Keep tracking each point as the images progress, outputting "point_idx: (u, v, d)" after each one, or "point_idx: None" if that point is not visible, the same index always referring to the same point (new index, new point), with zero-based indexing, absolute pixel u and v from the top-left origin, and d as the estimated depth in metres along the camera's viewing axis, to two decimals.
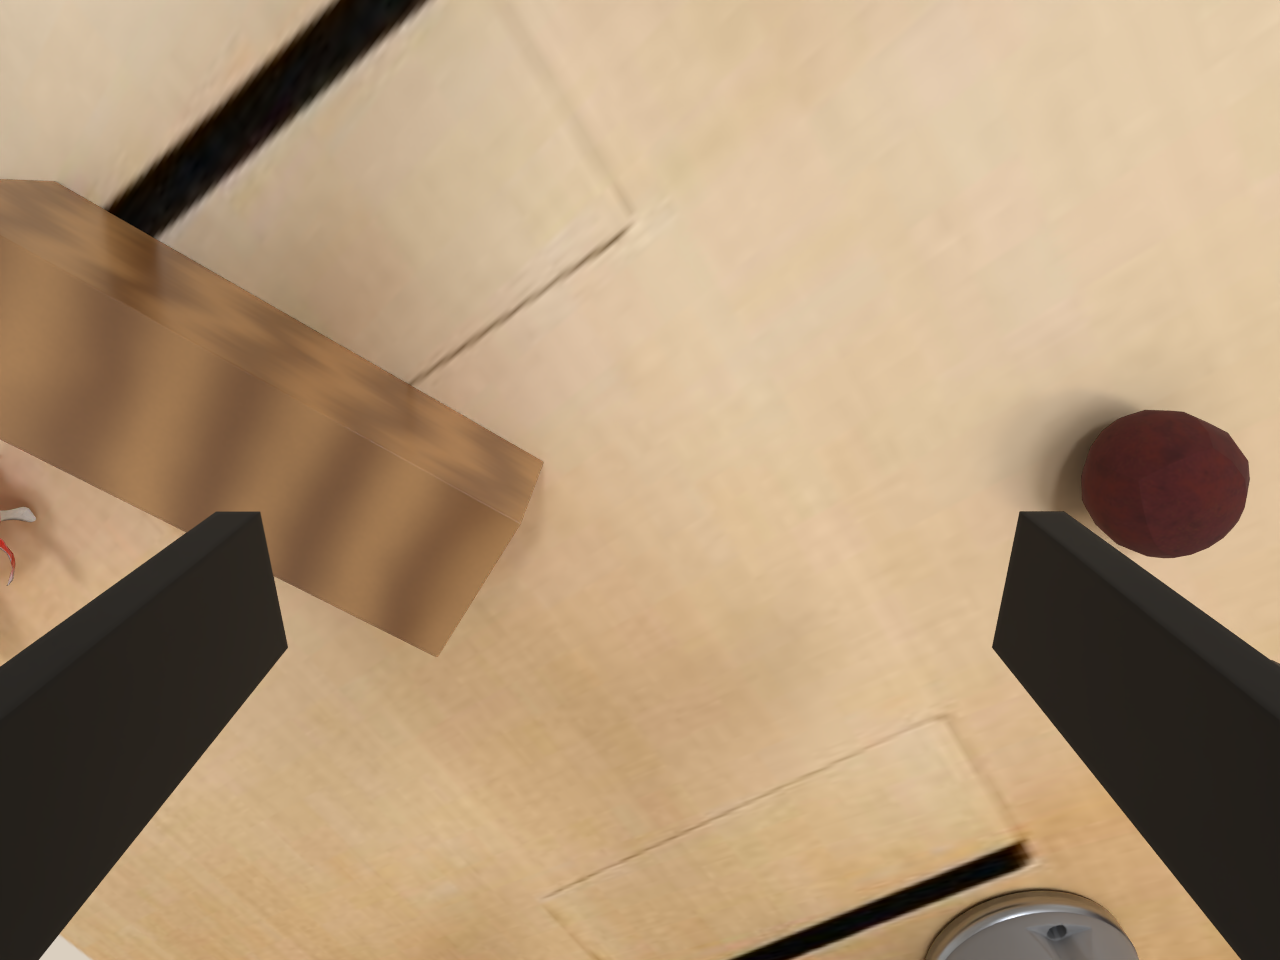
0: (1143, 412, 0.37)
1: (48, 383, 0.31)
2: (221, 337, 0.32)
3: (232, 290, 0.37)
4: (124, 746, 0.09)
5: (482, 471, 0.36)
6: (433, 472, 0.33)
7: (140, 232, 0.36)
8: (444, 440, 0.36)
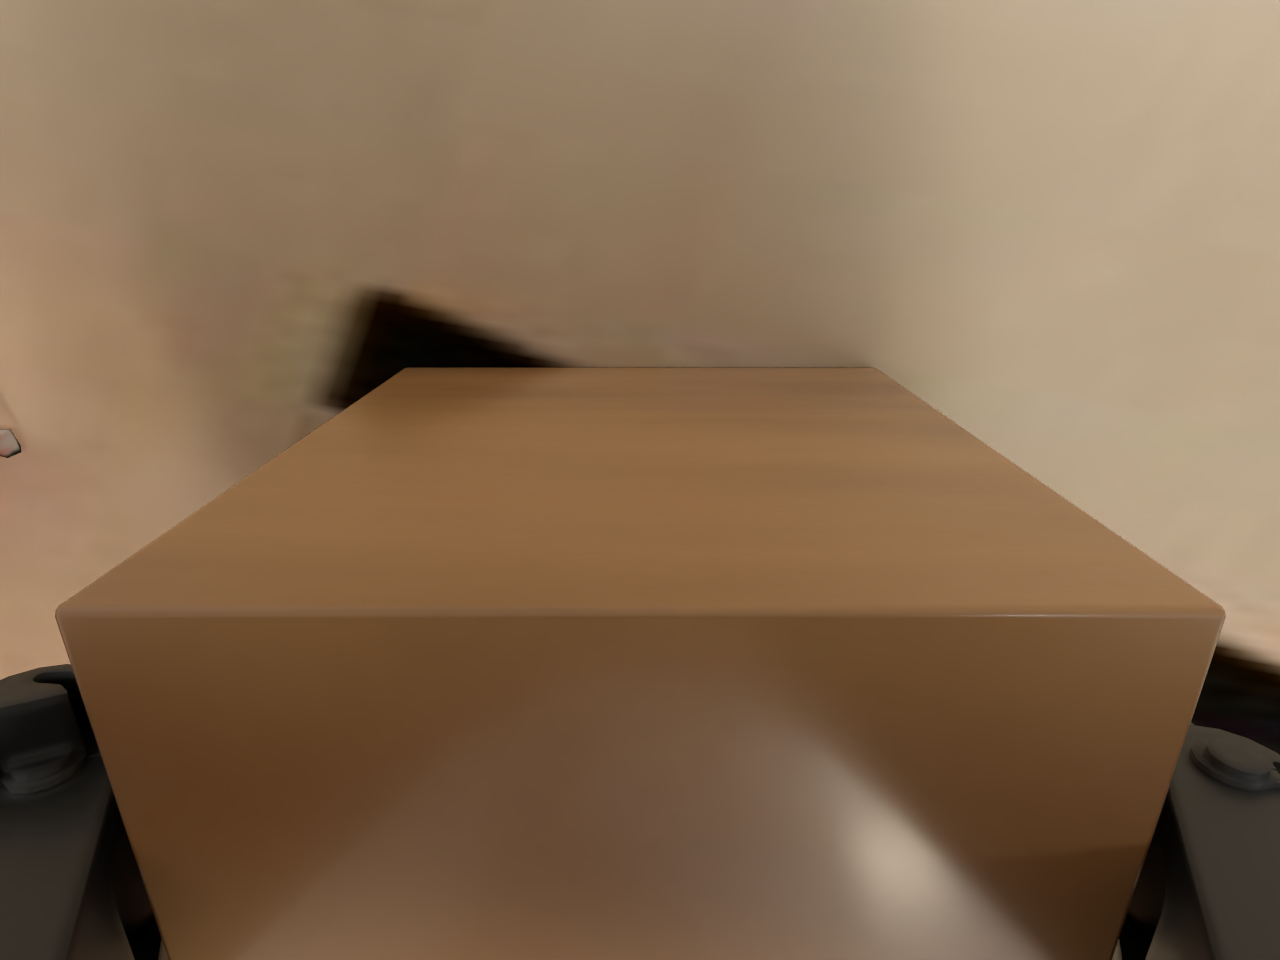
0: None
1: None
2: None
3: None
4: None
5: None
6: None
7: None
8: None
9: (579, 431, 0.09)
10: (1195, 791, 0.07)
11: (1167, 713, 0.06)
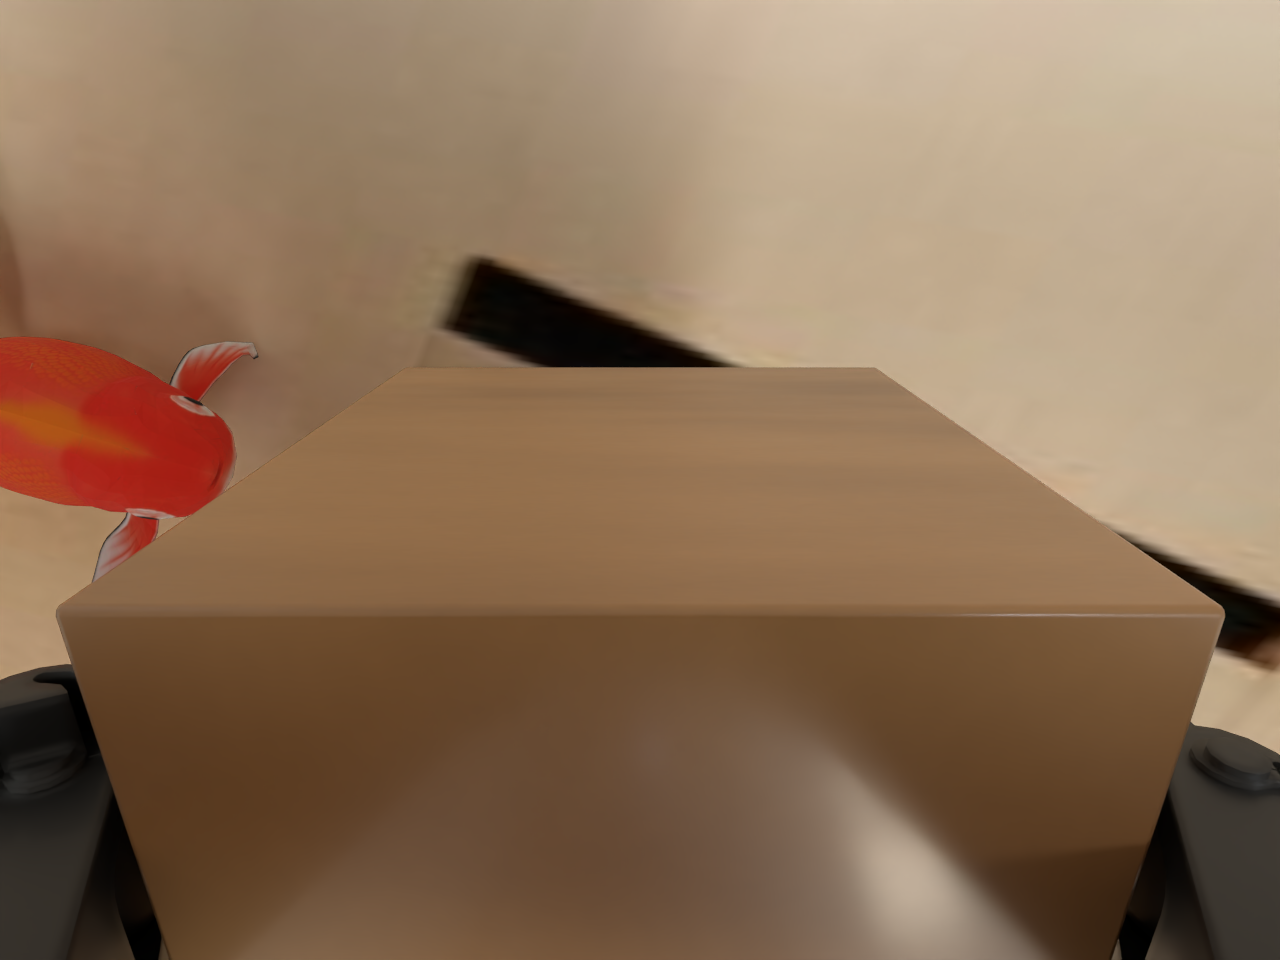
0: None
1: None
2: None
3: None
4: None
5: None
6: None
7: None
8: None
9: (579, 431, 0.09)
10: (1193, 791, 0.07)
11: (1164, 712, 0.06)
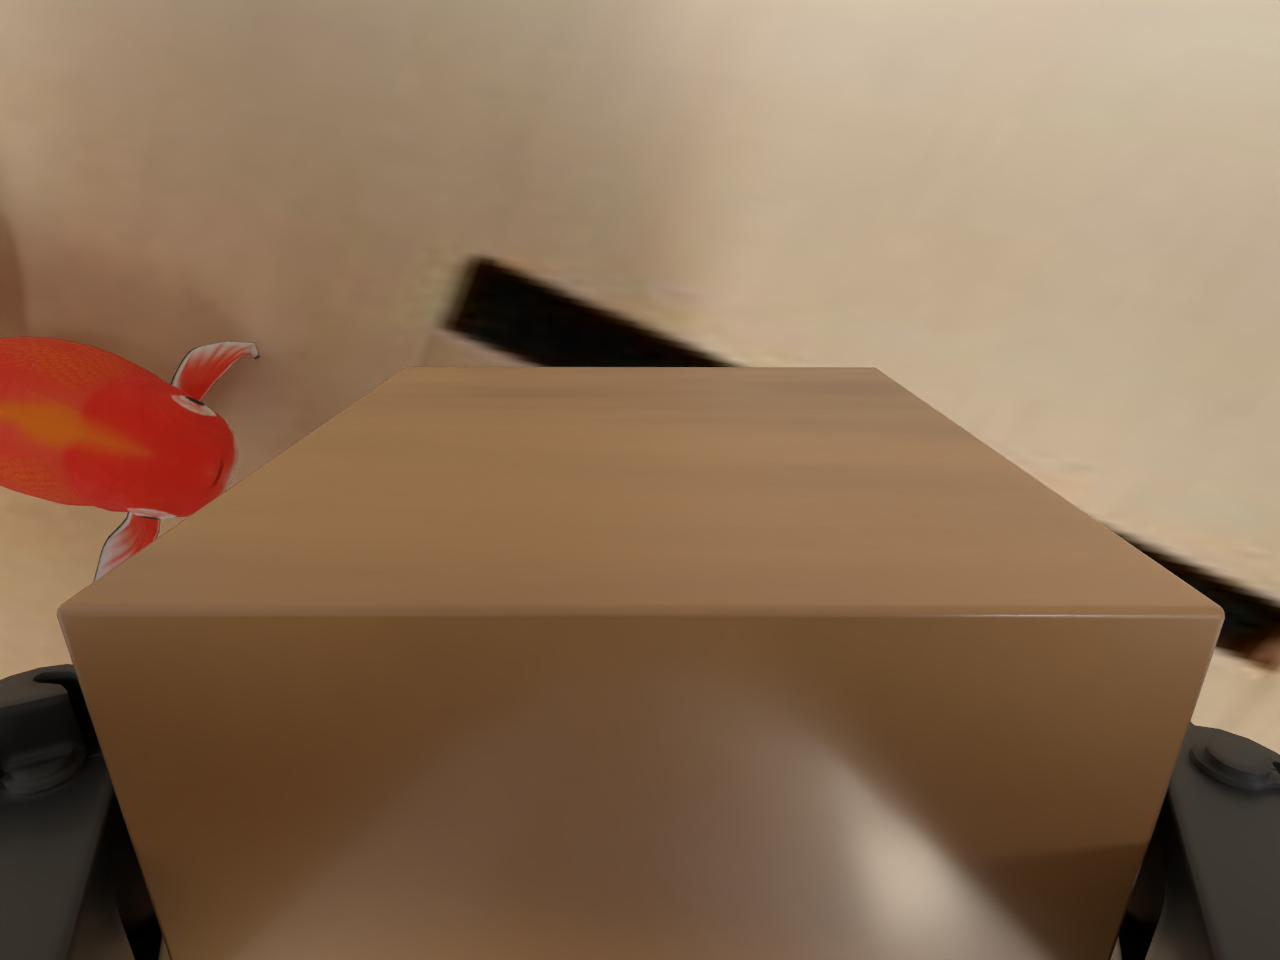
0: None
1: None
2: None
3: None
4: None
5: None
6: None
7: None
8: None
9: (580, 430, 0.09)
10: (1193, 792, 0.07)
11: (1164, 714, 0.06)
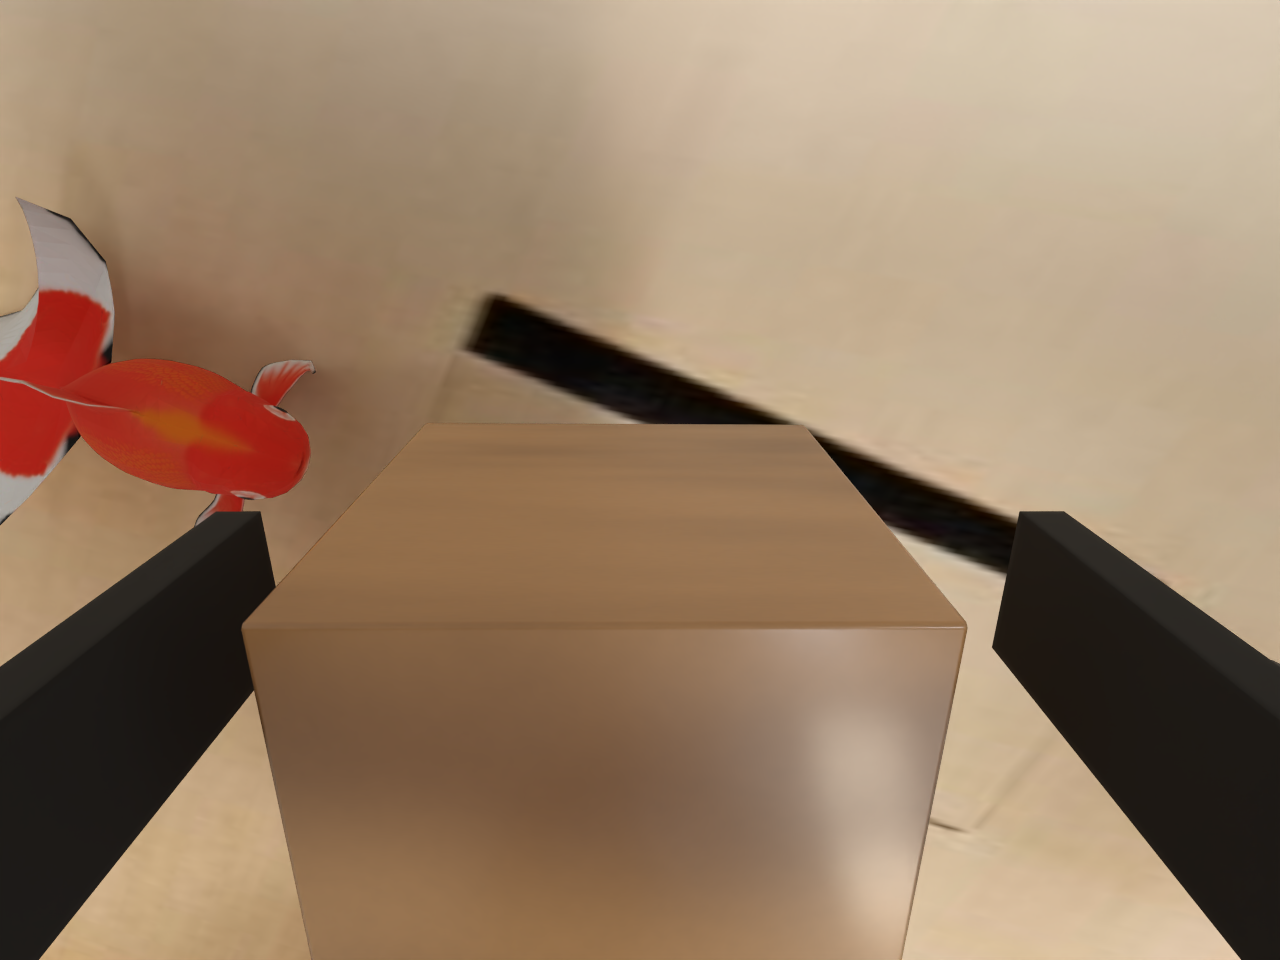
0: None
1: None
2: None
3: None
4: (124, 746, 0.09)
5: None
6: None
7: None
8: None
9: (568, 486, 0.13)
10: None
11: (938, 688, 0.09)
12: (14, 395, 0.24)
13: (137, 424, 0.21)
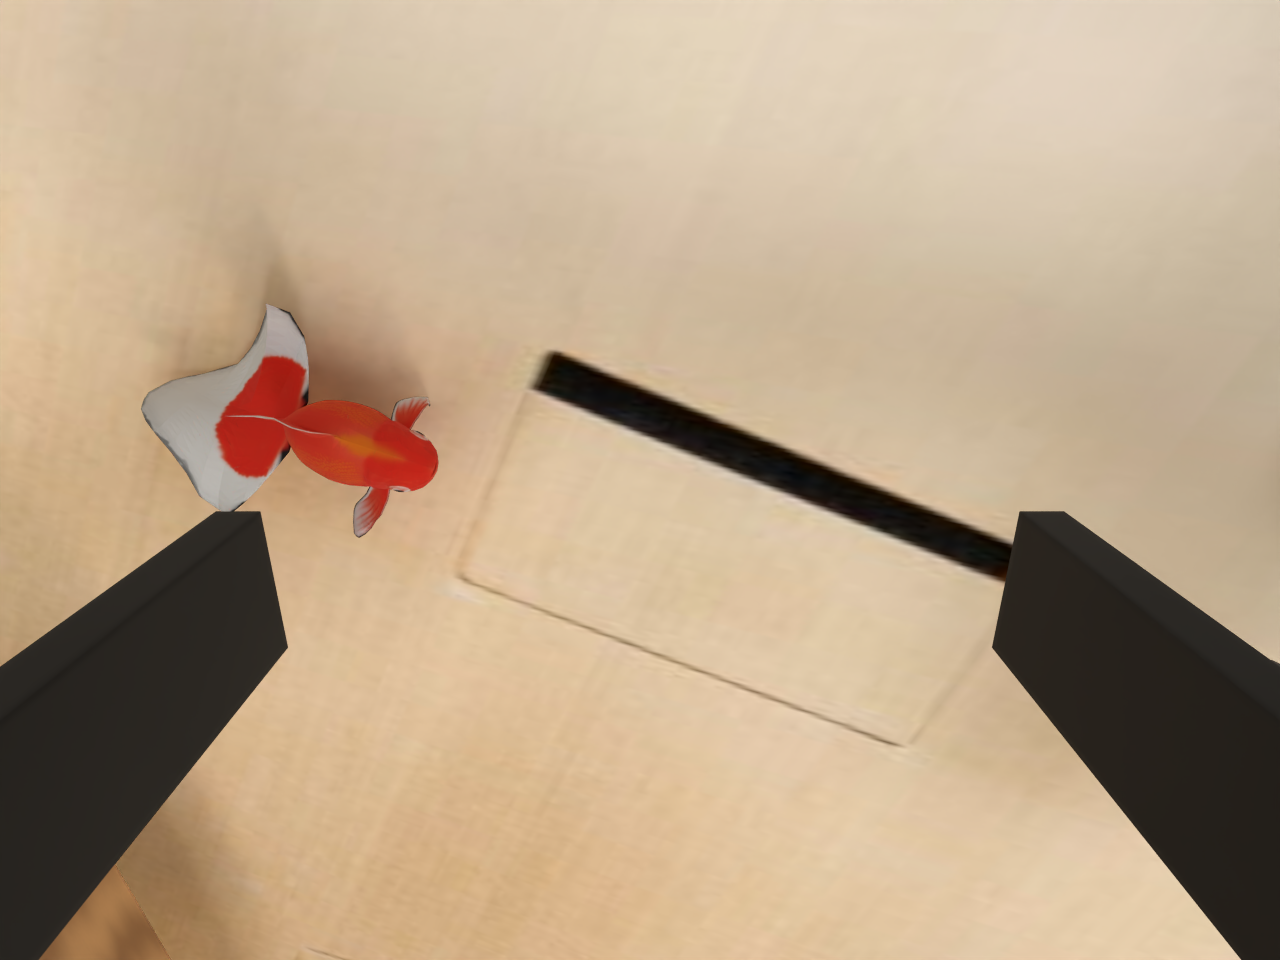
0: None
1: None
2: None
3: None
4: (125, 746, 0.09)
5: None
6: None
7: (130, 901, 0.37)
8: None
9: None
10: None
11: None
12: (245, 424, 0.36)
13: (336, 444, 0.34)
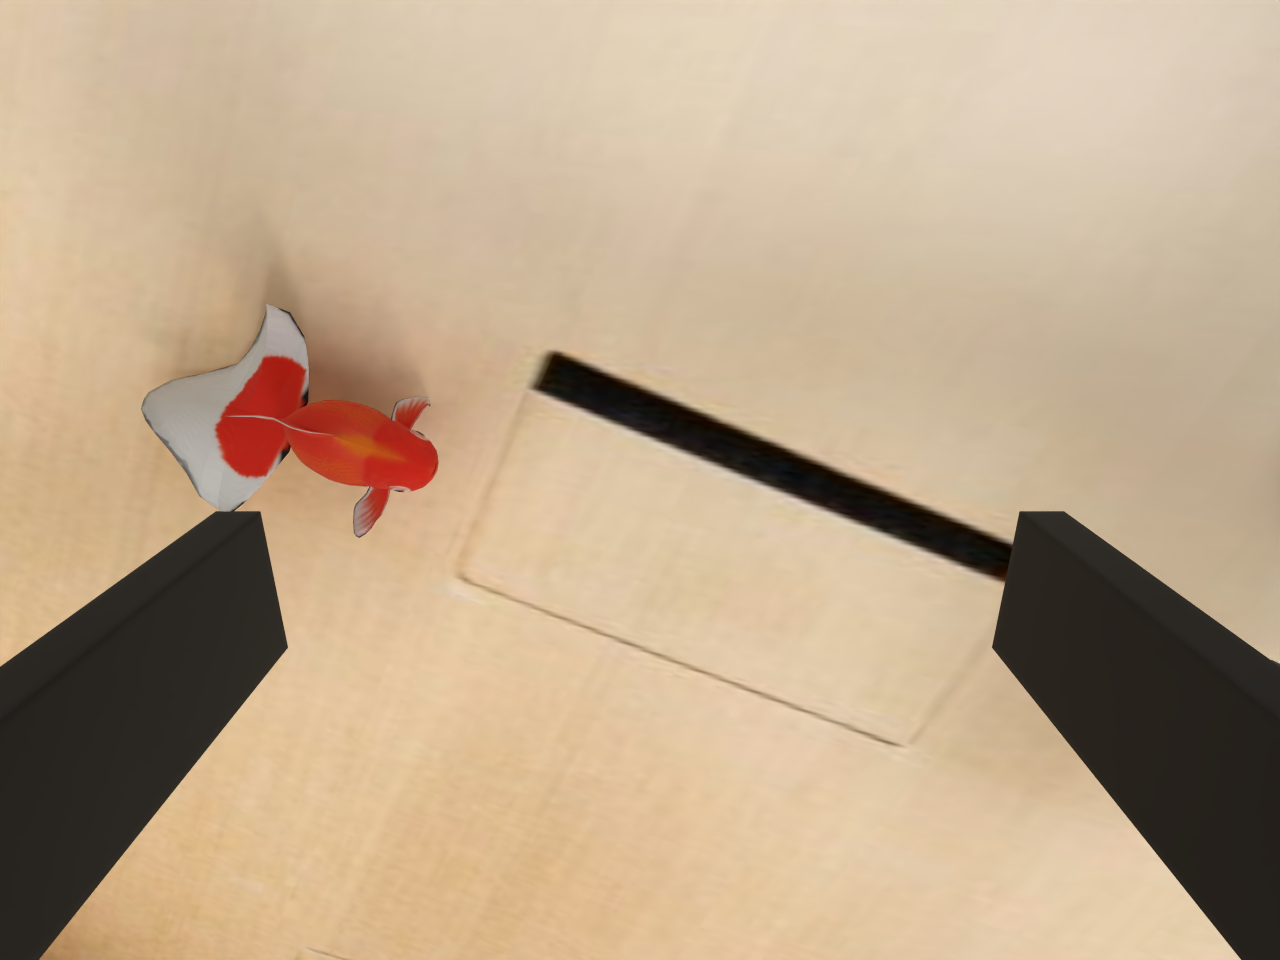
0: None
1: None
2: None
3: None
4: (125, 746, 0.09)
5: None
6: None
7: None
8: None
9: None
10: None
11: None
12: (245, 424, 0.36)
13: (336, 444, 0.34)
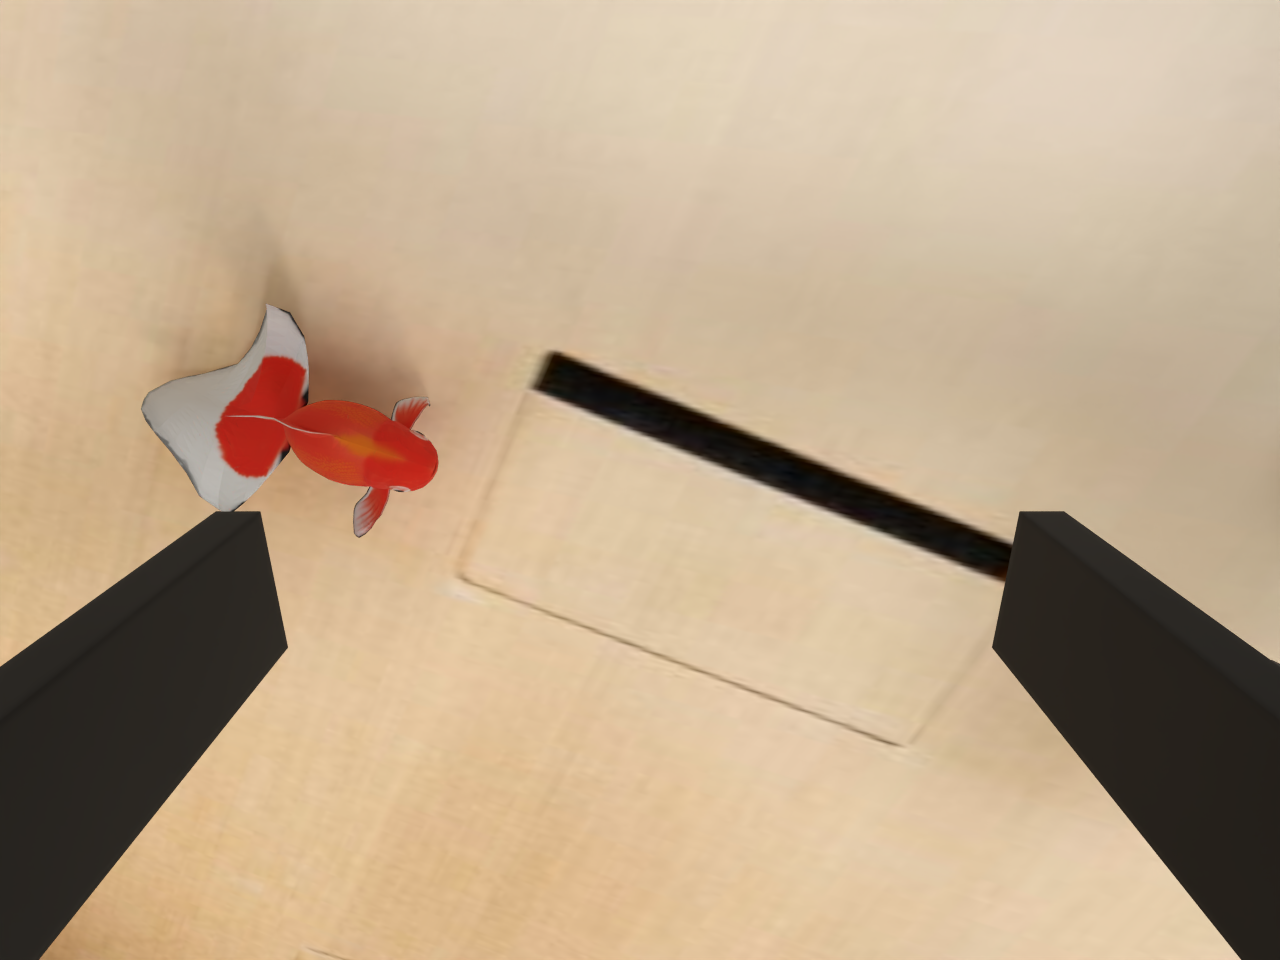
0: None
1: None
2: None
3: None
4: (125, 746, 0.09)
5: None
6: None
7: None
8: None
9: None
10: None
11: None
12: (245, 424, 0.36)
13: (336, 444, 0.34)
